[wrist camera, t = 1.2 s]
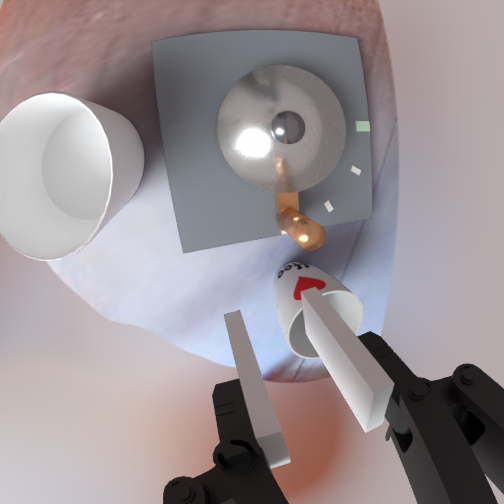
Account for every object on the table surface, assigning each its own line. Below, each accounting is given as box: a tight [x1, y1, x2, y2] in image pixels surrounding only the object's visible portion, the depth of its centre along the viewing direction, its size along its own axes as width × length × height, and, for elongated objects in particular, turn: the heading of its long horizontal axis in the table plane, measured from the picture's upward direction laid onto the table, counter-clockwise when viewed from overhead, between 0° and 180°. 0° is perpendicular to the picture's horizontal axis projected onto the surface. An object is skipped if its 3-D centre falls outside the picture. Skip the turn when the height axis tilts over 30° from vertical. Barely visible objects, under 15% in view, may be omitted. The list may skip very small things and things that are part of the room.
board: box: [151, 30, 372, 253], centre depth 26 cm, size 22×22×2 cm
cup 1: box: [0, 91, 145, 261], centre depth 19 cm, size 12×12×12 cm
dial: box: [216, 65, 346, 251], centre depth 23 cm, size 16×12×6 cm
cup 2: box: [273, 262, 363, 359], centre depth 30 cm, size 8×8×10 cm
